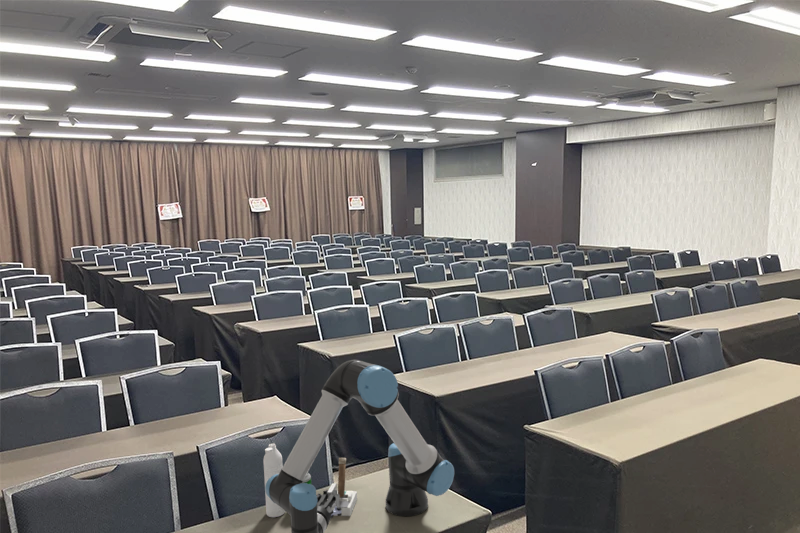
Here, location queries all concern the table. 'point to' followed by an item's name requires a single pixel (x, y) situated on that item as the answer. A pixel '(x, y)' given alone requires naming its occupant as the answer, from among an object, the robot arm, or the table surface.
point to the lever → (342, 478)
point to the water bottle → (271, 468)
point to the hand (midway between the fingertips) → (334, 487)
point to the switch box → (347, 503)
